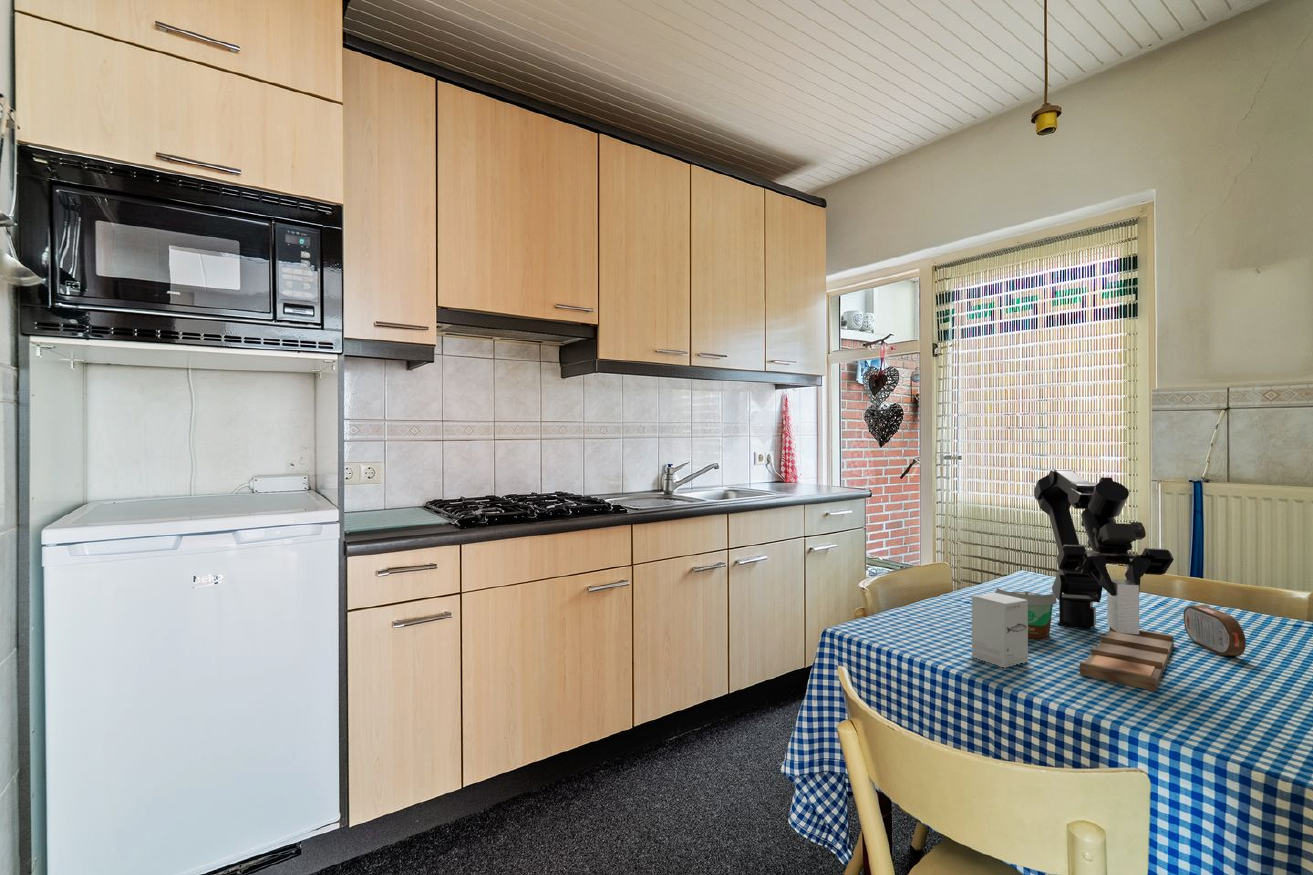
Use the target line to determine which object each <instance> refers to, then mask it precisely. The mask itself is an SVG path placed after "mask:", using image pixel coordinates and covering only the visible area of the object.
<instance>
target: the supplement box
mask: <svg viewBox="0 0 1313 875" xmlns="http://www.w3.org/2000/svg"><path fill="white" fill-rule="evenodd" d="M971 658H974V659H976V658H977V659H976V660H979V659H980V661H982V660H983V661H982V662H984V661H986V662H985V663H987V662H990V663H993V664H996V665H999V666H1002V667H1004V668H1003V669H1006V667H1007V668H1010V667H1014V666H1017V665H1016V664H1018V665H1021V664H1020V663H1023V664H1026V663H1025V662H1028V663H1029V639H1028V600H1025V599H1021V598H1017V597H1012V596H1008V595H1003V594H998V593H995V592H991V593H984V594H978V595H972V596H971ZM990 663H989V664H990ZM993 664H992V665H993ZM996 665H995V666H996ZM1013 665H1014V666H1013ZM999 666H998V667H999ZM1009 666H1010V667H1009ZM1002 667H1001V668H1002Z"/></svg>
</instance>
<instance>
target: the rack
mask: <svg viewBox="0 0 1313 875" xmlns="http://www.w3.org/2000/svg"><path fill="white" fill-rule="evenodd" d="M1108 628H1109V630H1108V631H1107V632H1106V634H1105V635H1100V641H1099V643H1098V644H1097V645H1096V647H1091V648H1090V654H1089V656H1087V658H1086V659H1085V661H1080V662H1079V675H1080V676H1083V675H1085V677H1089V678H1093V679H1097V680H1101V681H1107V682H1112V683H1116V684H1120V685H1126V686H1130V687H1134V688H1138V689H1143V690H1148V691H1153V692H1156V691H1157V689H1158V686H1159V684H1160V681H1161V679H1162V677H1163V673H1164V671H1165V668H1166V666H1167V664H1168V661H1169V658H1170V656H1171V653H1172V651H1173V649H1174V646H1175V644H1174V643H1175V642H1174V640H1175V639H1174V635H1173V634H1167V633H1161V632H1155V631H1150V630H1144V629H1139V634H1128V633H1118V632H1116V631H1115V630H1113V629H1112V628H1111V627H1109V626H1108Z"/></svg>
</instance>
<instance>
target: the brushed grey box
mask: <svg viewBox="0 0 1313 875" xmlns="http://www.w3.org/2000/svg"><path fill="white" fill-rule="evenodd" d="M1111 580H1112V583H1113V585H1114V588H1115V592H1116V594H1115V596H1112V595H1110V594H1109V593H1108V592H1107V591H1106V600H1107V601H1106V605H1107V607H1106V608H1107V611H1106V612H1107V613H1106V614H1107V618H1106V619H1107V622H1106V623H1107V626H1108V628H1109V627H1111V628H1112V629H1113V630H1115V631H1116V632H1118V633H1128V634H1139V630H1140V591H1139V585H1137V584H1135V583H1133V582H1131V581H1129V580H1127V579H1126V578H1125V579H1124V578H1123V579H1120V578H1111Z"/></svg>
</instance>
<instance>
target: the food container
mask: <svg viewBox="0 0 1313 875" xmlns="http://www.w3.org/2000/svg"><path fill="white" fill-rule="evenodd" d="M994 593H998V594H1003V595H1008V596H1012V597H1017V598H1021V599H1025V600H1028V640H1031V639H1034V641H1041V640H1043V641H1044V640H1047V638H1048V639H1049V638H1050V633H1051V625H1052V615H1053V606H1054V605H1055V604H1057V598H1056V597H1055V595H1054V592H1052V593H1051V594H1039V593H1035V592H1030V591H1011V592H1010V591H1007V590H1003V589H1001V588H999V587H996V589H995V591H994Z"/></svg>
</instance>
